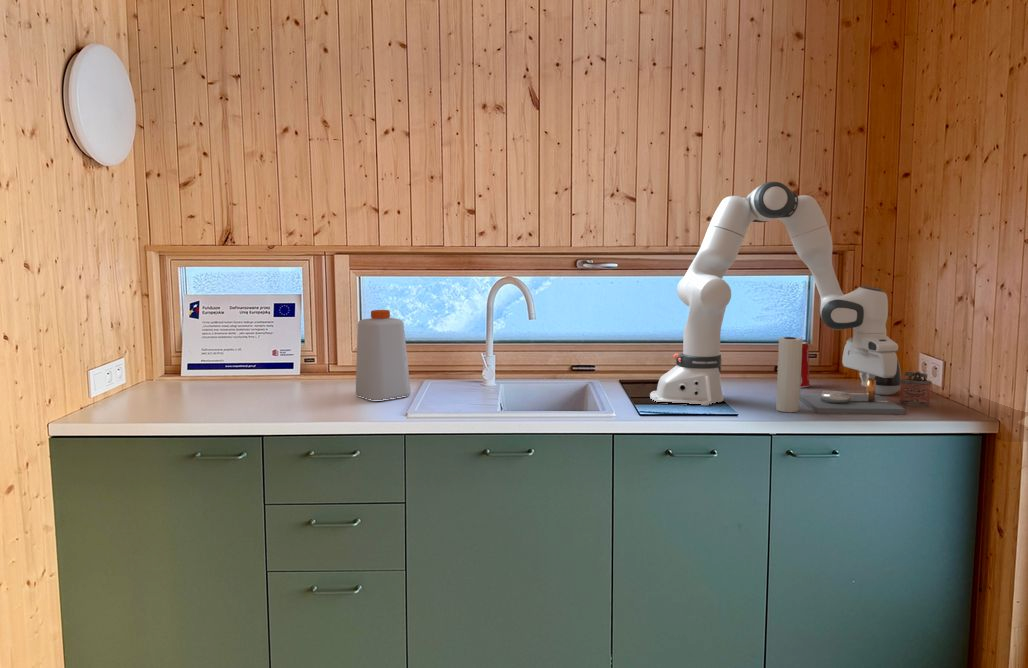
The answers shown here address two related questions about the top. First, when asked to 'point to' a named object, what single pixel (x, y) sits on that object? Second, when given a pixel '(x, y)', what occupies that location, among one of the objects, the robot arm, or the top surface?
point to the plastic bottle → (381, 358)
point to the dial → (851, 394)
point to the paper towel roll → (789, 374)
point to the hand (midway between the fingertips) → (866, 387)
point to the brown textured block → (915, 390)
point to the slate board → (851, 406)
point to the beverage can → (805, 365)
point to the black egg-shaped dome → (888, 383)
